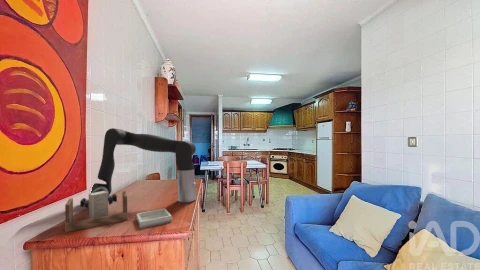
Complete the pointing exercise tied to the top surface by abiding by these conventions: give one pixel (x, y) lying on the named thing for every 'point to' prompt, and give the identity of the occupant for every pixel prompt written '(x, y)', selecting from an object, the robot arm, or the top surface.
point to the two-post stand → (94, 221)
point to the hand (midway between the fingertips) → (98, 203)
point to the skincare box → (98, 204)
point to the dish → (153, 218)
